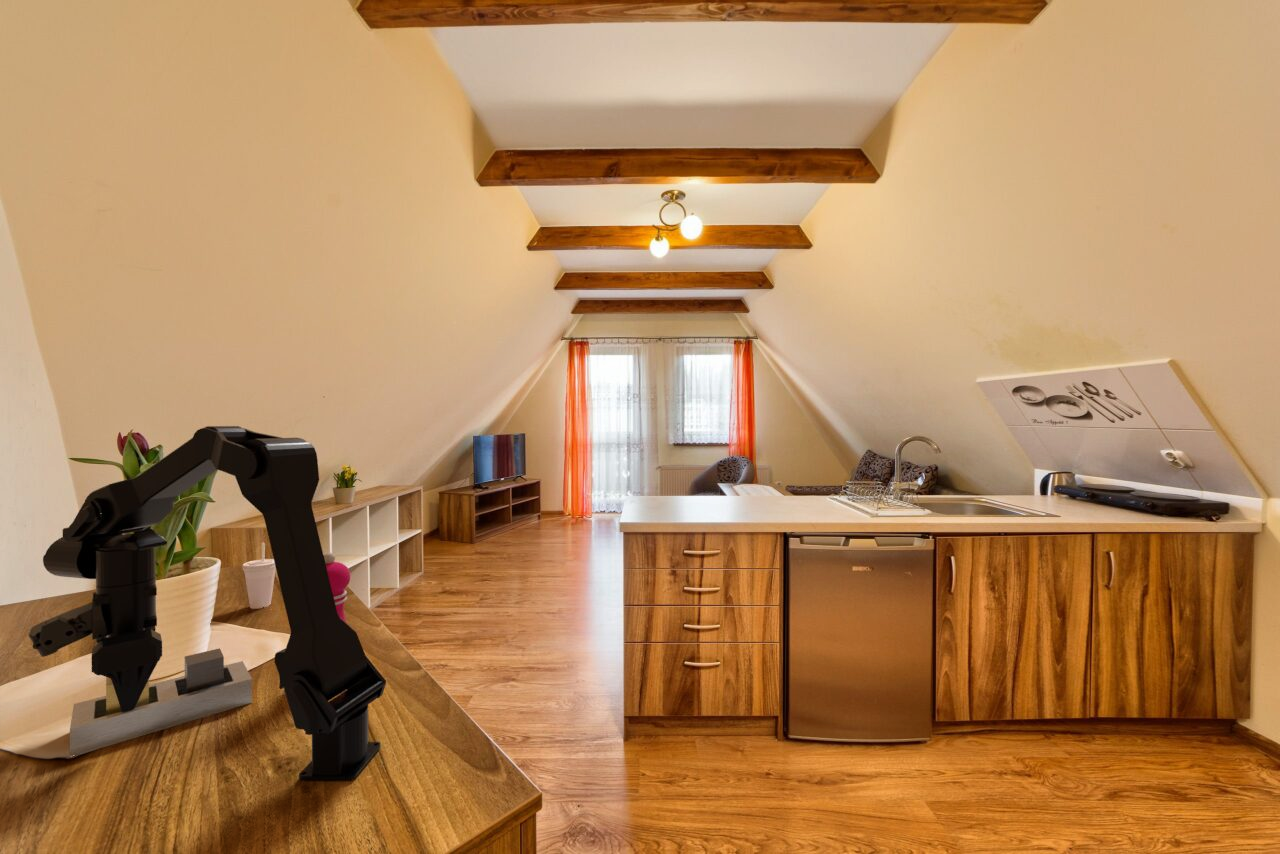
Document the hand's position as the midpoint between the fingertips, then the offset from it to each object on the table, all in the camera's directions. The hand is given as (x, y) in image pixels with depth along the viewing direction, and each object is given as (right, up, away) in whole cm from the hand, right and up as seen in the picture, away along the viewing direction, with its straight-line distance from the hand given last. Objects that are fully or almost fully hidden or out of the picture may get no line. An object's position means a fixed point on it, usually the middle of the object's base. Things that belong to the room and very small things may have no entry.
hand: (127, 697), depth 71 cm
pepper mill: (+19, -4, +14) cm, 24 cm away
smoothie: (-16, -4, +47) cm, 50 cm away
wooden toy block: (0, -4, 0) cm, 4 cm away
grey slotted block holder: (+3, -4, +3) cm, 6 cm away
